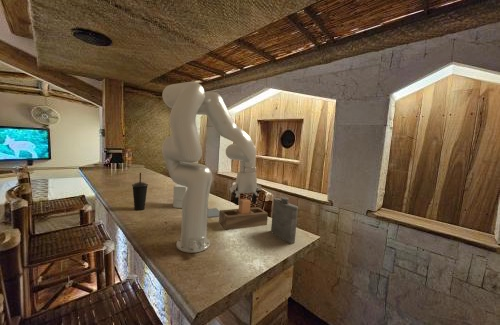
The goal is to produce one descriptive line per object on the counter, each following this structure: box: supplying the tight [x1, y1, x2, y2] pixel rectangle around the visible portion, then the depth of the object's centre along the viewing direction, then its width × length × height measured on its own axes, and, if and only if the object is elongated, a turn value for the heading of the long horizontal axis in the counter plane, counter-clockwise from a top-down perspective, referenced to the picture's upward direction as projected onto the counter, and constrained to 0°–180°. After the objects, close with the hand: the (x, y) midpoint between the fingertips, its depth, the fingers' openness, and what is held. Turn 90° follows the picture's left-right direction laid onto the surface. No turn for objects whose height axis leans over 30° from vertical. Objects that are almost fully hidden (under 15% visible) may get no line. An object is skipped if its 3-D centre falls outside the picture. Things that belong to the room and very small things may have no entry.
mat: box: [207, 207, 220, 219], centre depth 121 cm, size 12×12×1 cm
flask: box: [270, 196, 299, 245], centre depth 98 cm, size 4×14×18 cm, turn 34°
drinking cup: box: [131, 172, 149, 212], centre depth 118 cm, size 8×8×20 cm
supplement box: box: [172, 184, 187, 209], centre depth 129 cm, size 7×7×13 cm
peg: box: [238, 198, 252, 214], centre depth 110 cm, size 4×4×10 cm
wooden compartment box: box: [218, 206, 269, 231], centre depth 110 cm, size 10×22×6 cm, turn 117°
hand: (245, 203), depth 110 cm, fingers open, 9 cm apart
